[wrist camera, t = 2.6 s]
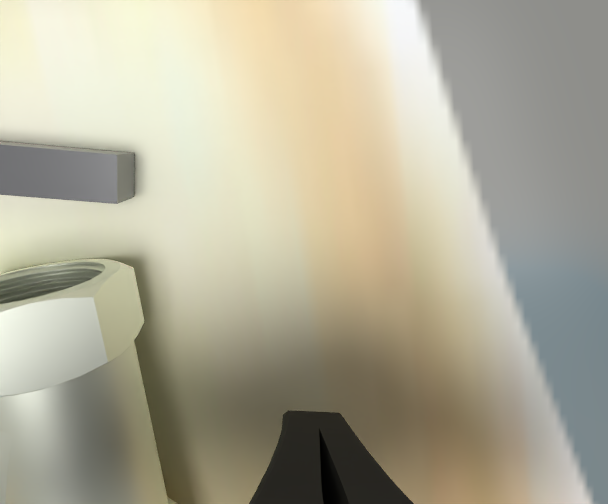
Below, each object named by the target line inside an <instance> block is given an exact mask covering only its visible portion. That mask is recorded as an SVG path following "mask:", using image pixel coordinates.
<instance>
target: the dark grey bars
mask: <svg viewBox="0 0 608 504" xmlns="http://www.w3.org/2000/svg"><path fill="white" fill-rule="evenodd" d="M0 195H13V196H26V197H38V198H51V199H63V200H76V201H89V202H101V203H114V204H118V203H120V202H123V201H125V200H127V199H130V198H132V197H134V153H130V152H119V151H108V150H96V149H85V148H74V147H62V146H51V145H40V144H29V143H17V142H6V141H0Z"/></svg>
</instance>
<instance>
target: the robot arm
mask: <svg viewBox="0 0 608 504" xmlns="http://www.w3.org/2000/svg"><path fill="white" fill-rule="evenodd" d="M249 504H414V503H413V502H412V501H411V500H410V499H409V498H408V497H407V496H406V495H405V494H404V493H403V492H402V491H401V490H400V489H399V488H398V487H397V486H396V484H395V483H394V482H393V481H392V480H391V479H390V478H389V476H388V475H387V474H386V473H385V472H384V470H383V469H382V468H381V467H380V466H379V464H378V463H377V462H376V461H375V460H374V458H373V457H372V456H371V455H370V453H369V452H368V451H367V449H366V448H365V447H364V445H363V444H362V443H361V441H360V440H359V439H358V437H357V436H356V435H355V433H354V432H353V431H352V429H351V428H350V426H349V425H348V424H347V422H346V421H345V419H344V418H343V417H342V416H341V414H340V413H330V412H308V411H287V412H286V413H285V414H284V415H283V423H282V431H281V435H280V438H279V441H278V444H277V447H276V449H275V452H274V454H273V457H272V459H271V462H270V464H269V466H268V469H267V471H266V473H265V475H264V476H263V478H262V480H261V482H260V484H259V486H258V488H257V490H256V492H255V494H254V496H253V497H252V499H251V501H250V503H249Z"/></svg>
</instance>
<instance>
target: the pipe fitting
mask: <svg viewBox="0 0 608 504" xmlns="http://www.w3.org/2000/svg"><path fill="white" fill-rule="evenodd" d="M144 322H145V321H144V316H143V311H142V306H141V302H140V297H139V292H138V287H137V282H136V277H135V272H134V267H131V266H129V265H126V264H124V263H121V262H118V261H114V260H109V259H80V260H69V261H61V262H54V263H48V264H42V265H37V266H32V267H27V268H22V269H18V270H13V271H9V272H5V273H2V274H0V504H177V503H176V502H174V501H173V500H171V499H170V498H168V497H167V494H166V489H165V484H164V480H163V475H162V470H161V465H160V460H159V456H158V451H157V446H156V441H155V437H154V432H153V427H152V422H151V418H150V413H149V408H148V403H147V399H146V394H145V389H144V385H143V380H142V375H141V371H140V366H139V361H138V356H137V352H136V347H135V342H134V340H135V338H136V337H137V335H138V334H139V332H140V330H141V328H142V326H143V324H144Z"/></svg>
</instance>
